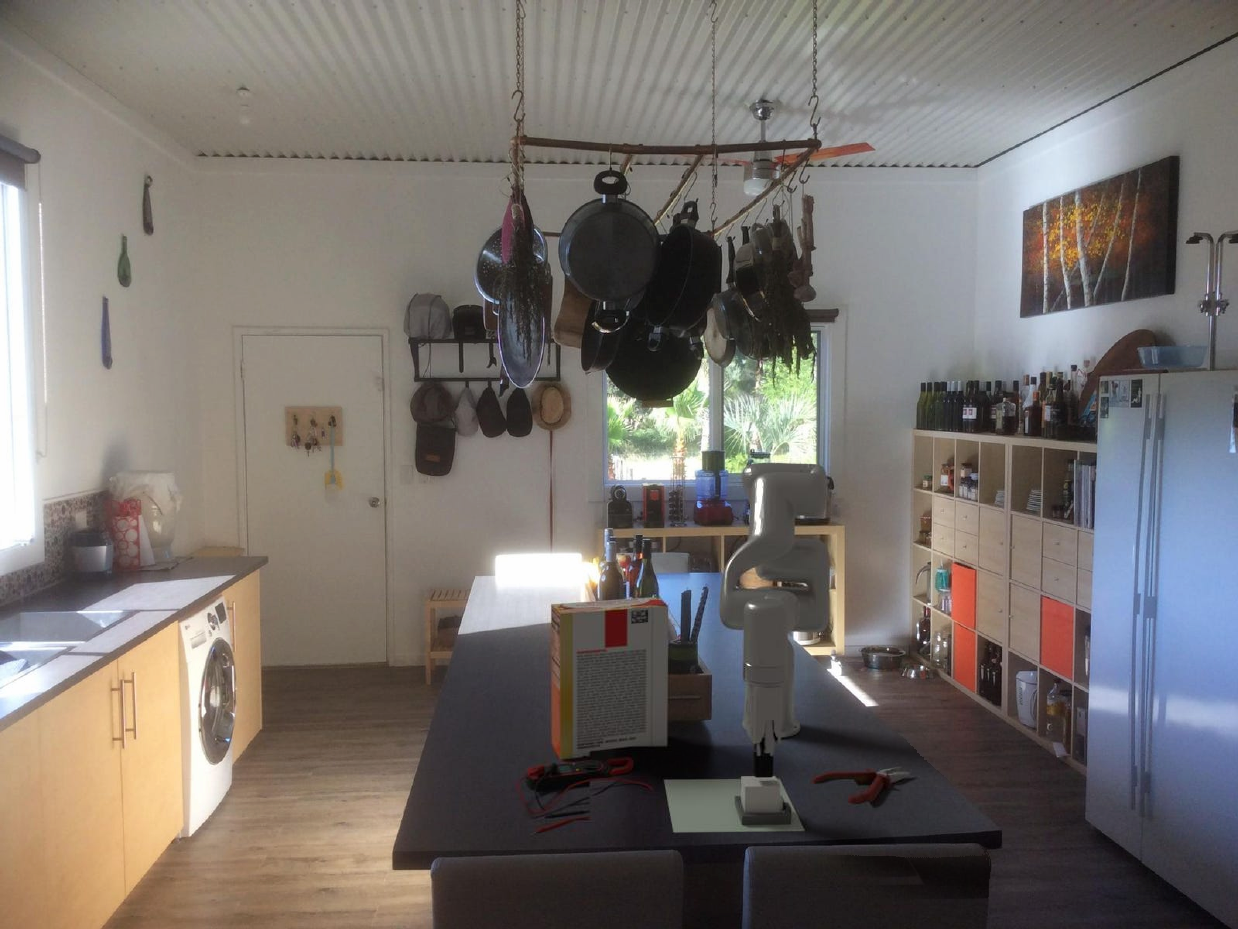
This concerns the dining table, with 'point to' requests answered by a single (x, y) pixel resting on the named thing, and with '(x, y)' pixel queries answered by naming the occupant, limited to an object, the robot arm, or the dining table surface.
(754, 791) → the plug
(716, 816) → the board
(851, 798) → the pliers
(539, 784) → the digital clamp meter
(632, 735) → the cereal box
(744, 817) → the frame
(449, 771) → the dining table surface
